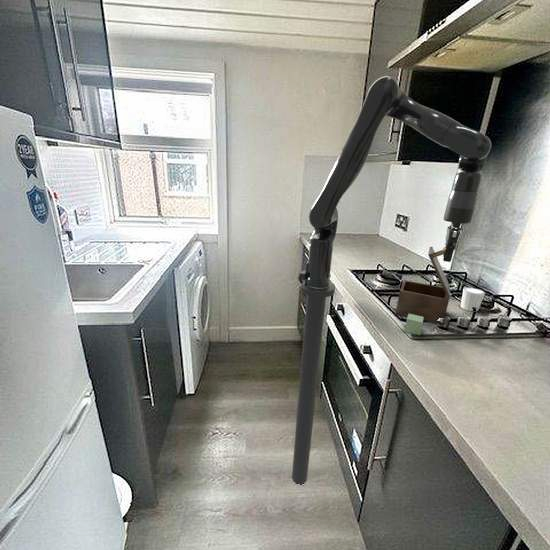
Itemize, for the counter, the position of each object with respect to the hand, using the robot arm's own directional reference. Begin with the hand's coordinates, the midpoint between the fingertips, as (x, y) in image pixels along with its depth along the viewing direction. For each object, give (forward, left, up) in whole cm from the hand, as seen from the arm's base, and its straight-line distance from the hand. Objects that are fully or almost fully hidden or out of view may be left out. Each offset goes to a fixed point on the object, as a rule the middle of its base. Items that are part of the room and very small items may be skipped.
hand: (446, 259), depth 98 cm
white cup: (+12, +15, -21) cm, 28 cm away
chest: (-4, 0, -20) cm, 21 cm away
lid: (-2, 0, -5) cm, 5 cm away
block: (-5, -16, -20) cm, 26 cm away
